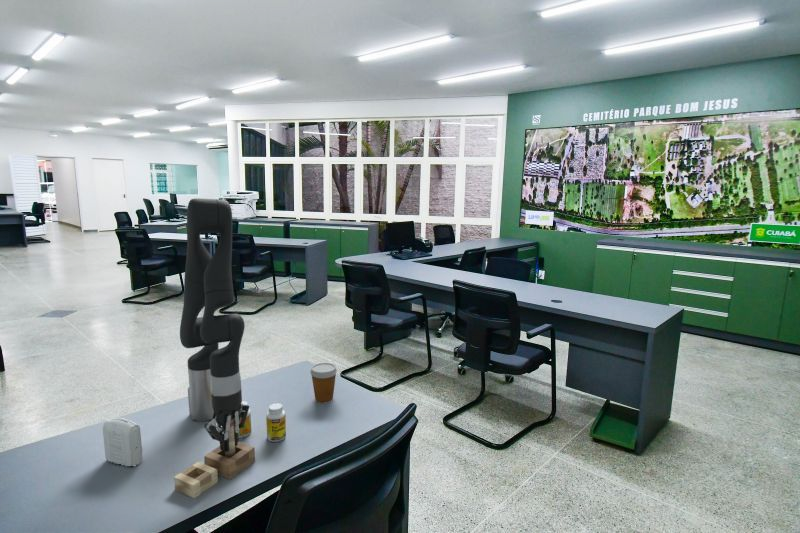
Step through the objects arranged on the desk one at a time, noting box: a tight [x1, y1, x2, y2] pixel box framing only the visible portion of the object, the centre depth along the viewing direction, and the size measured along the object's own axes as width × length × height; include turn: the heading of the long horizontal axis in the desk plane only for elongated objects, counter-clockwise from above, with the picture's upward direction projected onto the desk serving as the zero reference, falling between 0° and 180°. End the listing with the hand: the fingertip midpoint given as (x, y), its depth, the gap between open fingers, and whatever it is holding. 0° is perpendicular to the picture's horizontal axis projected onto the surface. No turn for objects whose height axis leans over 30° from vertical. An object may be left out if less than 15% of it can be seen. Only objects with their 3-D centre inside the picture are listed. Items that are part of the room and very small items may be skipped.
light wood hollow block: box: [173, 461, 219, 499], centre depth 110 cm, size 7×7×4 cm
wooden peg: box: [225, 419, 235, 458], centre depth 117 cm, size 3×3×12 cm
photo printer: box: [102, 417, 143, 467], centre depth 119 cm, size 10×4×12 cm, turn 72°
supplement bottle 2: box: [265, 402, 287, 443], centre depth 131 cm, size 6×6×10 cm
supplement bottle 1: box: [238, 400, 252, 439], centre depth 133 cm, size 5×5×10 cm
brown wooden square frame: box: [203, 441, 256, 480], centre depth 118 cm, size 9×9×4 cm
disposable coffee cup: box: [309, 362, 338, 404], centre depth 156 cm, size 10×10×12 cm
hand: (229, 447), depth 118 cm, fingers closed on wooden peg, 2 cm apart
